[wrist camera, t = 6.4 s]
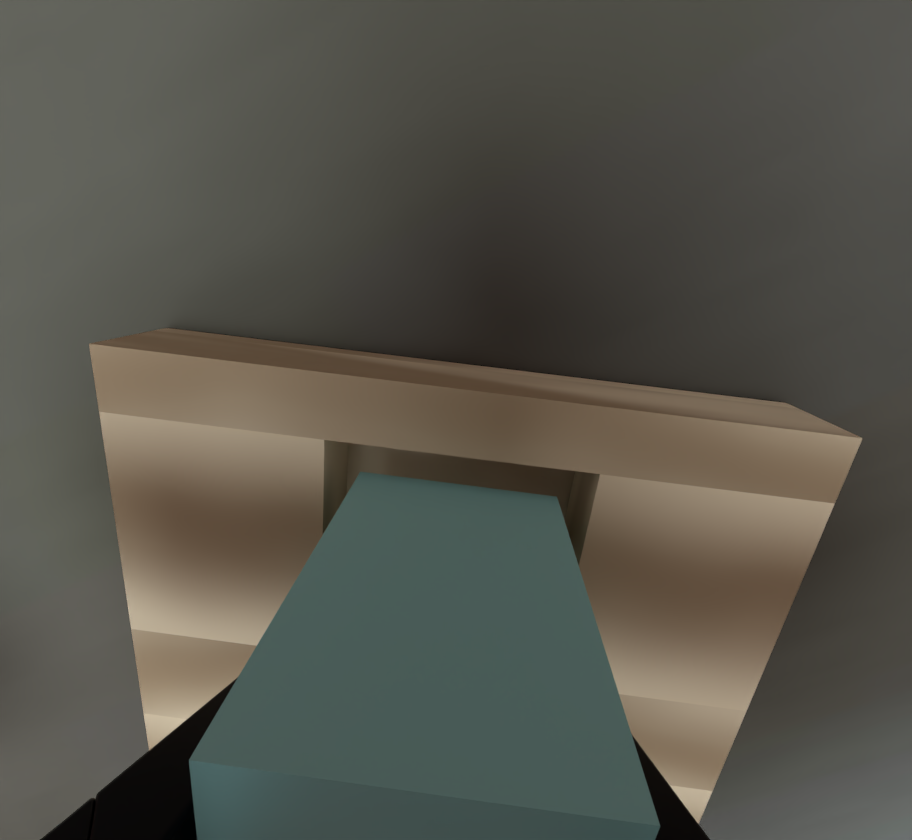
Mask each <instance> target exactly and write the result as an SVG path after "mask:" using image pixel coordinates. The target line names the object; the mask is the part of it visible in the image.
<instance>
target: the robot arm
mask: <svg viewBox="0 0 912 840" xmlns="http://www.w3.org/2000/svg"><path fill="white" fill-rule="evenodd" d="M237 678H238V677H237ZM237 678H236V679H235V680H234V681H233V682H231V683H230V684H229V685H228V686H226V687H225V688H224V689H223V690H222V691H220V692H219V693H218V694H217V695H216V696H214V697H213V698H212V699H211V700H210V701H208V702H207V703H206V704H205V705H204V706H202V707H201V708H200V709H199V710H197V711H196V712H195V713H194V714H193V715H191V716H190V717H189V718H188V719H187V720H185V721H184V722H183V723H182V724H181V725H179V726H178V727H177V728H176V729H174V730H173V731H172V732H171V733H170V734H168V735H167V736H166V737H165V738H164V739H162V740H161V741H160V742H159V743H158V744H156V745H155V746H154V747H153V748H151V749H150V750H149V751H148V752H147V753H145V754H144V755H143V756H142V757H141V758H139V759H138V760H137V761H136V762H135V763H133V764H132V765H131V766H130V767H129V768H127V769H126V770H125V771H124V772H122V773H121V774H120V775H119V776H118V777H116V778H115V779H114V780H113V781H112V782H110V783H109V784H108V785H107V786H106V787H104V788H103V789H102V790H101V791H99V792H98V794H97V796H96V799H95V798H91V799H89V800H88V801H87V802H86V803H85V804H83V805H82V806H81V807H80V808H79V809H77V810H76V811H75V812H74V813H73V814H71V815H70V816H69V817H68V818H66V819H65V820H64V821H63V822H62V823H60V824H59V825H58V826H57V827H55V828H54V829H53V830H52V831H50V832H49V833H48V834H47V835H45V836H44V837H43V838H42V839H40V840H197V834H196V824H195V815H194V805H193V796H192V786H191V777H190V768H189V759H190V757H191V756H192V754H193V752H194V750H195V749H196V747H197V745H198V744H199V742H200V740H201V739H202V737H203V735H204V734H205V732H206V730H207V729H208V727H209V725H210V724H211V722H212V720H213V719H214V717H215V715H216V713H217V712H218V710H219V708H220V707H221V705H222V703H223V702H224V700H225V698H226V697H227V695H228V693H229V692H230V690H231V688H232V687H233V685H234V683H235V682H236V680H237ZM632 737H633V741H634V744H635V747H636V750H637V753H638V756H639V760H640V763H641V766H642V769H643V772H644V776H645V779H646V782H647V785H648V788H649V792H650V795H651V798H652V801H653V804H654V807H655V811H656V814H657V817H658V820H659V823H660V828H659V831H658V833H657V836H656V839H655V840H710V839H709V838H708V836H707V835H706V834H705V832H704V831H703V830H702V828H701V827H700V826H699V824H698V823H697V822H696V820H695V819H694V818H693V816H692V815H691V813H690V812H689V811H688V809H687V808H686V807H685V805H684V804H683V803H682V801H681V800H680V799H679V797H678V796H677V795H676V793H675V792H674V791H673V789H672V788H671V786H670V785H669V784H668V782H667V781H666V780H665V778H664V777H663V776H662V774H661V773H660V772H659V770H658V769H657V768H656V766H655V765H654V763H653V762H652V761H651V759H650V758H649V757H648V755H647V754H646V753H645V751H644V750H643V749H642V747H641V746H640V745H639V743H638V742H637V741H636V739H635V738H634V736H633V735H632Z"/></svg>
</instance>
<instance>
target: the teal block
mask: <svg viewBox="0 0 912 840" xmlns="http://www.w3.org/2000/svg"><path fill="white" fill-rule="evenodd" d="M189 768H190V777H191V786H192V796H193V805H194V815H195V824H196V834H197V840H655V839H656V836H657V833H658V831H659V828H660V823H659V820H658V817H657V814H656V811H655V807H654V804H653V801H652V798H651V795H650V792H649V788H648V785H647V782H646V779H645V776H644V772H643V769H642V766H641V763H640V760H639V756H638V753H637V750H636V747H635V744H634V741H633V737H632V734H631V731H630V728H629V725H628V721H627V718H626V715H625V712H624V709H623V705H622V702H621V699H620V696H619V693H618V690H617V686H616V683H615V680H614V677H613V674H612V670H611V667H610V664H609V661H608V658H607V654H606V651H605V648H604V645H603V642H602V639H601V635H600V632H599V629H598V626H597V623H596V619H595V616H594V613H593V610H592V607H591V603H590V600H589V597H588V594H587V591H586V588H585V584H584V581H583V578H582V575H581V572H580V568H579V565H578V562H577V559H576V556H575V552H574V549H573V546H572V543H571V540H570V537H569V533H568V530H567V527H566V524H565V521H564V517H563V514H562V511H561V508H560V505H559V502H558V498H557V497H556V496H548V495H540V494H532V493H525V492H517V491H509V490H501V489H493V488H485V487H478V486H470V485H462V484H454V483H446V482H438V481H430V480H423V479H415V478H407V477H399V476H391V475H383V474H376V473H368V472H360V473H359V475H358V476H357V478H356V480H355V481H354V483H353V485H352V486H351V488H350V490H349V492H348V493H347V495H346V497H345V498H344V500H343V502H342V503H341V505H340V507H339V508H338V510H337V512H336V513H335V515H334V517H333V518H332V520H331V522H330V523H329V525H328V527H327V529H326V530H325V532H324V534H323V535H322V537H321V539H320V540H319V542H318V544H317V545H316V547H315V549H314V550H313V552H312V554H311V555H310V557H309V559H308V560H307V562H306V564H305V565H304V567H303V569H302V571H301V572H300V574H299V576H298V577H297V579H296V581H295V582H294V584H293V586H292V587H291V589H290V591H289V592H288V594H287V596H286V597H285V599H284V601H283V602H282V604H281V606H280V608H279V609H278V611H277V613H276V614H275V616H274V618H273V619H272V621H271V623H270V624H269V626H268V628H267V629H266V631H265V633H264V634H263V636H262V638H261V639H260V641H259V643H258V645H257V646H256V648H255V650H254V651H253V653H252V655H251V656H250V658H249V660H248V661H247V663H246V665H245V666H244V668H243V670H242V671H241V673H240V675H239V676H238V678H237V680H236V682H235V683H234V685H233V687H232V688H231V690H230V692H229V693H228V695H227V697H226V698H225V700H224V702H223V703H222V705H221V707H220V708H219V710H218V712H217V713H216V715H215V717H214V719H213V720H212V722H211V724H210V725H209V727H208V729H207V730H206V732H205V734H204V735H203V737H202V739H201V740H200V742H199V744H198V745H197V747H196V749H195V750H194V752H193V754H192V756H191V757H190V759H189Z"/></svg>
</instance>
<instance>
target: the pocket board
mask: <svg viewBox="0 0 912 840" xmlns="http://www.w3.org/2000/svg"><path fill="white" fill-rule="evenodd" d="M89 347H90V354H91V360H92V367H93V374H94V381H95V387H96V394H97V401H98V408H99V414H100V421H101V428H102V435H103V441H104V448H105V455H106V462H107V468H108V475H109V482H110V489H111V495H112V502H113V509H114V516H115V523H116V529H117V536H118V543H119V550H120V556H121V563H122V570H123V577H124V583H125V590H126V597H127V604H128V610H129V617H130V624H131V631H132V637H133V644H134V651H135V658H136V664H137V671H138V678H139V685H140V692H141V698H142V705H143V712H144V719H145V725H146V732H147V739H148V746H149V750H150V749H151V748H153V747H154V746H155V745H156V744H158V743H159V742H160V741H161V740H162V739H164V738H165V737H166V736H167V735H168V734H170V733H171V732H172V731H173V730H174V729H176V728H177V727H178V726H179V725H181V724H182V723H183V722H184V721H185V720H187V719H188V718H189V717H190V716H191V715H193V714H194V713H195V712H196V711H197V710H199V709H200V708H201V707H202V706H204V705H205V704H206V703H207V702H208V701H210V700H211V699H212V698H213V697H214V696H216V695H217V694H218V693H219V692H220V691H222V690H223V689H224V688H225V687H226V686H228V685H229V684H230V683H231V682H233V681H234V680H235V679H236V678H237V677H238V676H239V675H240V673H241V671H242V670H243V668H244V666H245V665H246V663H247V661H248V660H249V658H250V656H251V655H252V653H253V651H254V650H255V648H256V646H257V645H258V643H259V641H260V639H261V638H262V636H263V634H264V633H265V631H266V629H267V628H268V626H269V624H270V623H271V621H272V619H273V618H274V616H275V614H276V613H277V611H278V609H279V608H280V606H281V604H282V602H283V601H284V599H285V597H286V596H287V594H288V592H289V591H290V589H291V587H292V586H293V584H294V582H295V581H296V579H297V577H298V576H299V574H300V572H301V571H302V569H303V567H304V565H305V564H306V562H307V560H308V559H309V557H310V555H311V554H312V552H313V550H314V549H315V547H316V545H317V544H318V542H319V540H320V539H321V537H322V535H323V534H324V532H325V530H326V529H327V527H328V525H329V523H330V522H331V520H332V518H333V517H334V515H335V513H336V512H337V510H338V508H339V507H340V505H341V503H342V502H343V500H344V498H345V497H346V495H347V493H348V492H349V490H350V488H351V486H352V485H353V483H354V481H355V480H356V478H357V476H358V475H359V473H360V472H368V473H376V474H383V475H391V476H399V477H407V478H415V479H423V480H430V481H438V482H446V483H454V484H462V485H470V486H478V487H485V488H493V489H501V490H509V491H517V492H525V493H532V494H540V495H548V496H556V497H557V498H558V502H559V505H560V508H561V511H562V514H563V517H564V521H565V524H566V527H567V530H568V533H569V537H570V540H571V543H572V546H573V549H574V552H575V556H576V559H577V562H578V565H579V568H580V572H581V575H582V578H583V581H584V584H585V588H586V591H587V594H588V597H589V600H590V603H591V607H592V610H593V613H594V616H595V619H596V623H597V626H598V629H599V632H600V635H601V639H602V642H603V645H604V648H605V651H606V654H607V658H608V661H609V664H610V667H611V670H612V674H613V677H614V680H615V683H616V686H617V690H618V693H619V696H620V699H621V702H622V705H623V709H624V712H625V715H626V718H627V721H628V725H629V728H630V731H631V734H632V735H633V736H634V738H635V739H636V741H637V742H638V743H639V745H640V746H641V747H642V749H643V750H644V751H645V753H646V754H647V755H648V757H649V758H650V759H651V761H652V762H653V763H654V765H655V766H656V768H657V769H658V770H659V772H660V773H661V774H662V776H663V777H664V778H665V780H666V781H667V782H668V784H669V785H670V786H671V788H672V789H673V791H674V792H675V793H676V795H677V796H678V797H679V799H680V800H681V801H682V803H683V804H684V805H685V807H686V808H687V809H688V811H689V812H690V813H691V815H692V816H693V818H694V819H695V820H696V822H697V823H698V824H699V821H700V819H701V817H702V814H703V812H704V810H705V807H706V805H707V803H708V800H709V798H710V796H711V793H712V791H713V789H714V786H715V784H716V782H717V779H718V777H719V774H720V772H721V770H722V767H723V765H724V763H725V760H726V758H727V756H728V753H729V751H730V749H731V746H732V744H733V742H734V739H735V737H736V735H737V732H738V730H739V727H740V725H741V723H742V720H743V718H744V716H745V713H746V711H747V709H748V706H749V704H750V702H751V699H752V697H753V695H754V692H755V690H756V688H757V685H758V683H759V681H760V678H761V676H762V673H763V671H764V669H765V666H766V664H767V662H768V659H769V657H770V655H771V652H772V650H773V648H774V645H775V643H776V641H777V638H778V636H779V634H780V631H781V629H782V626H783V624H784V622H785V619H786V617H787V615H788V612H789V610H790V608H791V605H792V603H793V601H794V598H795V596H796V594H797V591H798V589H799V587H800V584H801V582H802V579H803V577H804V575H805V572H806V570H807V568H808V565H809V563H810V561H811V558H812V556H813V554H814V551H815V549H816V547H817V544H818V542H819V540H820V537H821V535H822V532H823V530H824V528H825V525H826V523H827V521H828V518H829V516H830V514H831V511H832V509H833V507H834V504H835V502H836V500H837V497H838V495H839V493H840V490H841V488H842V486H843V483H844V481H845V478H846V476H847V474H848V471H849V469H850V467H851V464H852V462H853V460H854V457H855V455H856V453H857V450H858V448H859V446H860V443H861V441H862V439H863V438H861V437H859V436H857V435H855V434H852V433H850V432H848V431H846V430H844V429H842V428H839V427H837V426H835V425H833V424H831V423H829V422H826V421H824V420H822V419H820V418H818V417H816V416H814V415H811V414H809V413H807V412H805V411H803V410H801V409H798V408H796V407H794V406H792V405H790V404H788V403H783V402H774V401H766V400H758V399H750V398H741V397H733V396H725V395H717V394H708V393H700V392H692V391H684V390H675V389H667V388H659V387H651V386H642V385H634V384H626V383H618V382H609V381H601V380H593V379H584V378H576V377H568V376H560V375H551V374H543V373H535V372H527V371H518V370H510V369H502V368H494V367H485V366H477V365H469V364H461V363H452V362H444V361H436V360H428V359H419V358H411V357H403V356H395V355H386V354H378V353H370V352H362V351H353V350H345V349H337V348H329V347H320V346H312V345H304V344H295V343H287V342H279V341H271V340H262V339H254V338H246V337H238V336H229V335H221V334H213V333H205V332H196V331H188V330H180V329H172V328H164V329H159V330H154V331H149V332H144V333H139V334H134V335H129V336H125V337H120V338H115V339H110V340H105V341H100V342H95V343H90V344H89Z"/></svg>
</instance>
